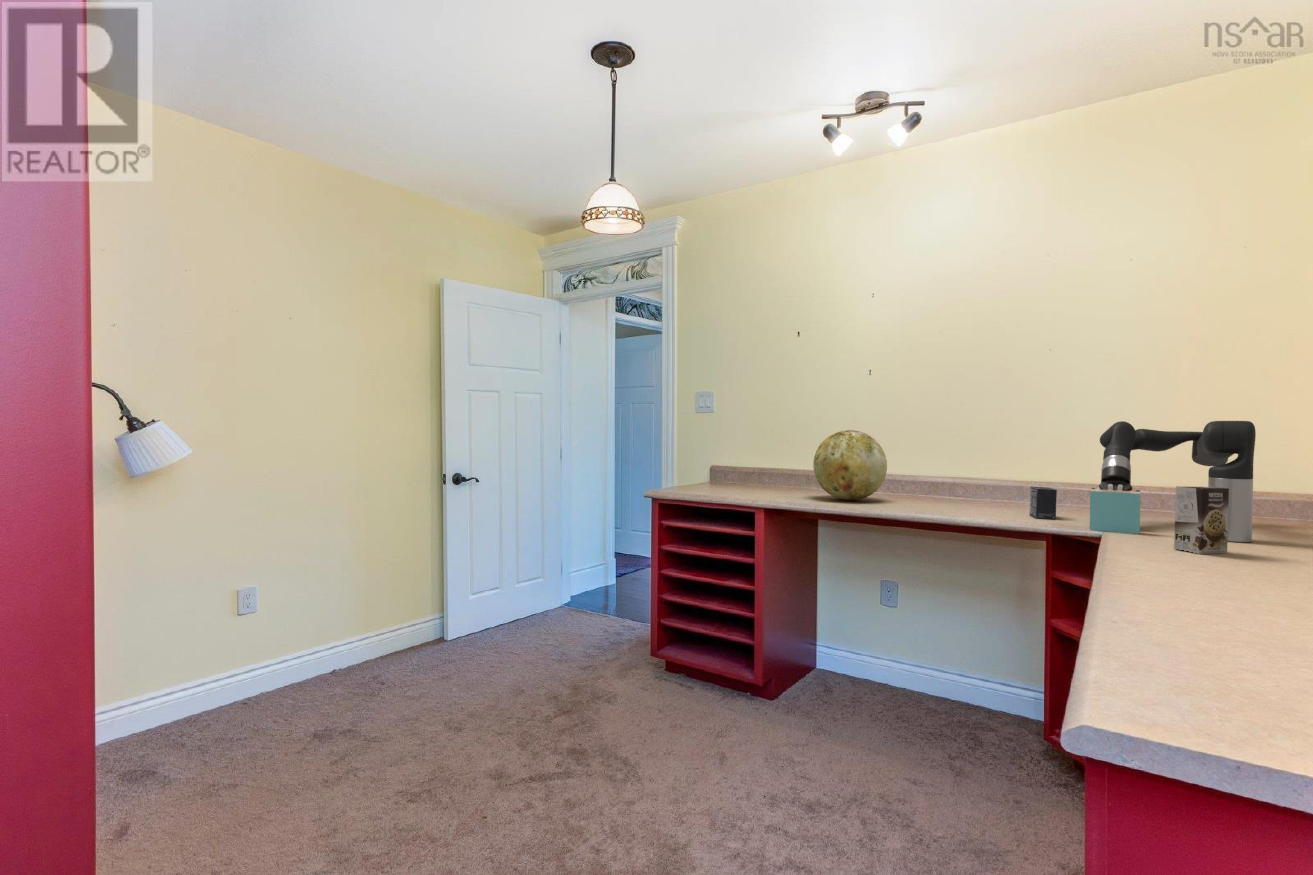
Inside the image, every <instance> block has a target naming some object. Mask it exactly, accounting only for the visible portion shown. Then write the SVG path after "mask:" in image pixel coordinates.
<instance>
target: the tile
mask: <svg viewBox="0 0 1313 875" xmlns="http://www.w3.org/2000/svg"><path fill="white" fill-rule="evenodd" d="M1089 530H1090V531H1096V532H1105V533H1106V532H1107V533H1118V532H1120V533H1119V534H1129V533H1131V535H1140V533H1141V491H1140V492H1136V490H1135V491H1118V490H1099V489H1096V488H1095V489H1091V488H1090V492H1089Z"/></svg>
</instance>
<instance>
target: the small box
mask: <svg viewBox="0 0 1313 875" xmlns="http://www.w3.org/2000/svg"><path fill="white" fill-rule="evenodd" d="M1029 490H1030V501H1029V514H1028V515H1029V516H1030V517H1032V518H1034V519H1039V520H1056V519H1057V496H1058V495H1057V493H1058V492H1057V491H1058V490H1057V489H1055V488H1051V487H1044V486H1043V487H1042V486H1030V489H1029Z"/></svg>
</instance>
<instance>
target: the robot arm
mask: <svg viewBox="0 0 1313 875" xmlns="http://www.w3.org/2000/svg"><path fill="white" fill-rule="evenodd" d="M1255 426H1256V425H1255V424H1254V423H1253V422H1252V421H1250V420H1213V421H1210V422H1208V423H1206V424H1205V426H1204V428H1203V429H1202V431H1188V430H1187V431H1181V430H1179V431H1178V430H1177V431H1174V430H1173V431H1172V430H1171V431H1169V430H1167V431H1166V430H1156V429H1155V430H1154V429H1148V428H1137V429H1135V427H1134V426H1133V425H1132V424H1131V423H1130V422H1127V421H1122V420H1121V421H1116V422H1114V423H1113V424H1112V425H1111V426H1110V427H1109V428H1107V429H1106V430H1105V431H1104V432H1103V433H1102V434H1101V436H1100V437H1099V443H1100V445H1101V446H1102V447H1103V448H1104V451H1103V458H1102V460H1103V461H1102V465H1101V469H1100V470H1101V475H1100V484H1098V487H1092V488H1090V490H1091V489H1099V490H1118V491H1136V492H1140V493H1141V490H1139V489H1137V490H1135V489H1133V485H1132V484H1131V482H1132V480H1131V478H1132V465H1131V451H1136V450H1142V451H1147V452H1165V451H1168V450H1171V449H1172V448H1176V447H1177V446H1178V445H1181V444H1183V443H1187V442H1191V441H1192V446H1191V447H1192V448H1191V459H1192V461H1193V462H1194V463H1195V464H1198V465H1200V466H1205V467H1210V468H1208V471H1207V472H1208V474H1207V476H1208V480H1207V481H1208V482H1207V484H1208V485H1207V487H1217V488H1229V504H1228V542H1235V543H1251V542H1252V541H1253V514H1254V513H1253V508H1254V507H1253V505H1254V504H1253V503H1254V499H1253V498H1254V458H1255V457H1254V456H1255V446H1256V436H1257V434H1256V427H1255ZM1234 454H1235V455H1237V457H1236V458H1234V459H1233V460H1230V461H1229V458H1230V457H1232V456H1234ZM1228 461H1229V462H1228Z"/></svg>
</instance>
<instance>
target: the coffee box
mask: <svg viewBox="0 0 1313 875" xmlns="http://www.w3.org/2000/svg"><path fill="white" fill-rule="evenodd" d="M1174 504H1175V506H1174V507H1175V510H1174V511H1175V512H1174V535H1173V536H1174V537H1173V538H1174V539H1173V541H1174V544H1173V550H1175V549H1180V550H1184V551H1183V552H1186V551H1189V552H1188V553H1191V552H1193V553H1192V554H1196V553H1197V555H1204V554H1205V555H1211V554H1212V555H1213V554H1228V543H1229V541H1228V504H1229V488H1217V487H1208V486H1176V487H1175V503H1174ZM1180 550H1179V551H1180Z"/></svg>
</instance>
